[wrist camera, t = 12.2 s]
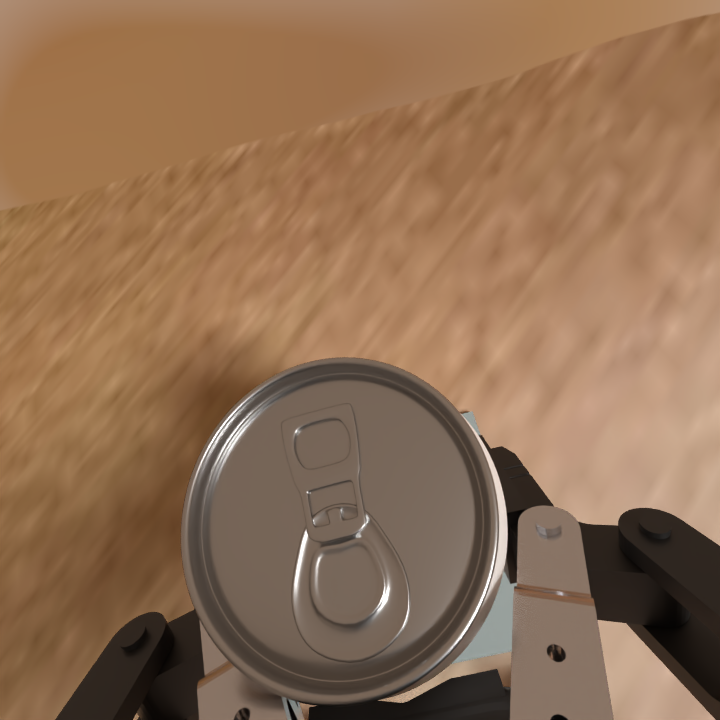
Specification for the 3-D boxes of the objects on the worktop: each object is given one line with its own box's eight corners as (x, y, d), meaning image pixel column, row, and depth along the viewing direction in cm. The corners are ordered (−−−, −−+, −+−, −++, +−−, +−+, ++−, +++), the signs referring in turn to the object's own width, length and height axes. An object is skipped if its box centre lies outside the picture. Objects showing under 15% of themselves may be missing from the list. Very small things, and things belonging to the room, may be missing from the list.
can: (335, 628, 16) (155, 794, 6) (309, 472, 19) (156, 384, 8) (488, 590, 16) (607, 690, 5) (439, 437, 19) (452, 301, 8)
